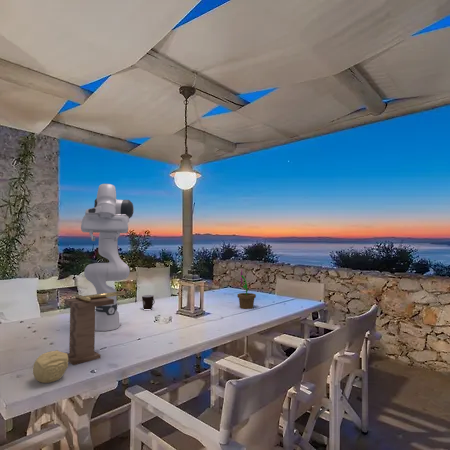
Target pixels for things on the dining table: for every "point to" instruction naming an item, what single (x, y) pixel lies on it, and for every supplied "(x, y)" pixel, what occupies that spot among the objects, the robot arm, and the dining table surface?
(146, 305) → the coffee mug
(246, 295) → the flowerpot
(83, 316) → the walnut stand
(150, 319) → the dining table surface
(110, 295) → the brass T-key
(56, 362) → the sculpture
